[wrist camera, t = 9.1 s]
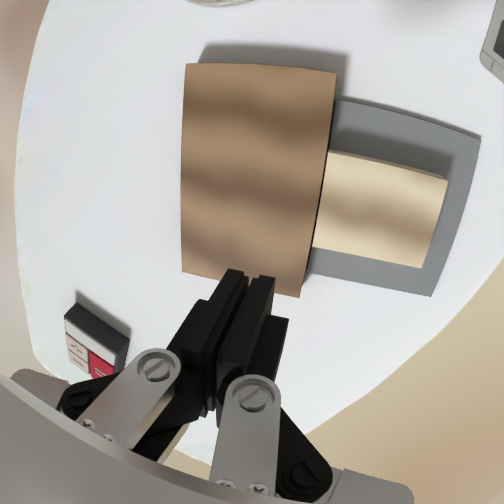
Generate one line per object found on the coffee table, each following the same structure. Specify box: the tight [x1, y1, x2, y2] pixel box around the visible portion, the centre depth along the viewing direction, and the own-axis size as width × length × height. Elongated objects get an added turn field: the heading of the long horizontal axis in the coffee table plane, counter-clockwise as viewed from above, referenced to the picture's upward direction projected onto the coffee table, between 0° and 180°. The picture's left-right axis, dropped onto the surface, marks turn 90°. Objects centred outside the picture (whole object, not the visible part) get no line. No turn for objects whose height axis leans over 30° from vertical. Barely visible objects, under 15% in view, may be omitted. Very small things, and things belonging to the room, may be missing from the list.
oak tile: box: [312, 149, 448, 268], centre depth 23 cm, size 8×10×2 cm
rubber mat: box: [307, 99, 481, 297], centre depth 24 cm, size 16×13×1 cm
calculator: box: [64, 303, 130, 379], centre depth 45 cm, size 11×4×15 cm
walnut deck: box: [181, 63, 337, 298], centre depth 26 cm, size 20×12×2 cm, turn 175°
